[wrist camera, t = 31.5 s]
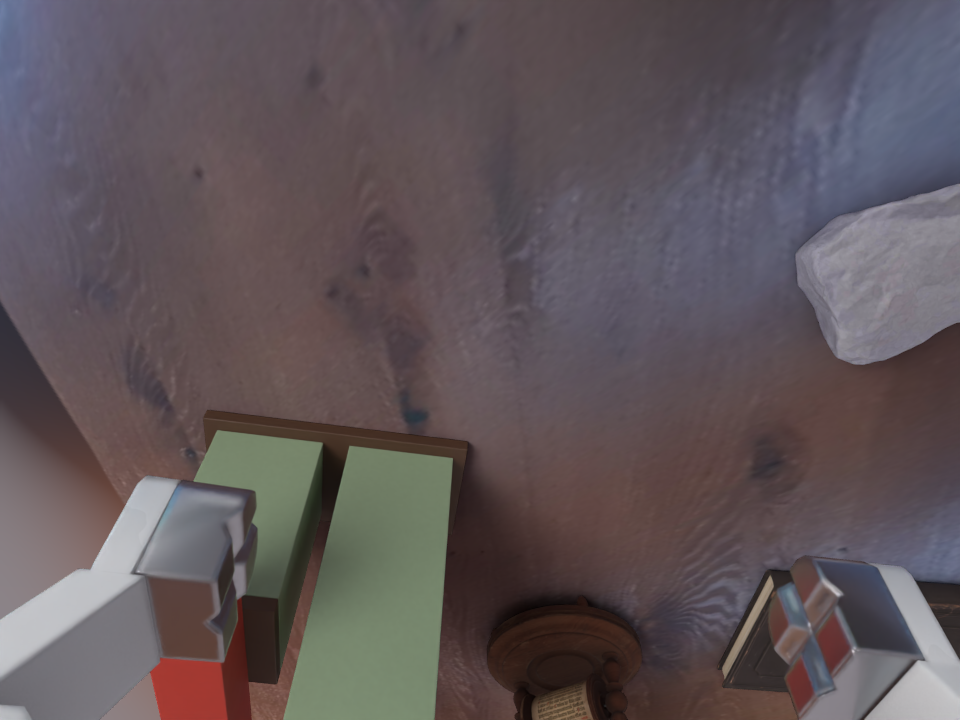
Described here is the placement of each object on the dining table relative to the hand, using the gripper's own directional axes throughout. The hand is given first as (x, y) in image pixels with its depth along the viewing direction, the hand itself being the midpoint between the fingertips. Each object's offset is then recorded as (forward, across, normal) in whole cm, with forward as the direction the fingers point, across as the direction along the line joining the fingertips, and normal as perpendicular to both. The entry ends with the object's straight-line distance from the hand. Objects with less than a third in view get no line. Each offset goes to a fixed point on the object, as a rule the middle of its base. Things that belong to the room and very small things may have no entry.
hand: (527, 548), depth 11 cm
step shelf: (+35, +8, +35) cm, 50 cm away
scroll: (+35, -15, +54) cm, 66 cm away
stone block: (+35, -27, +9) cm, 45 cm away
